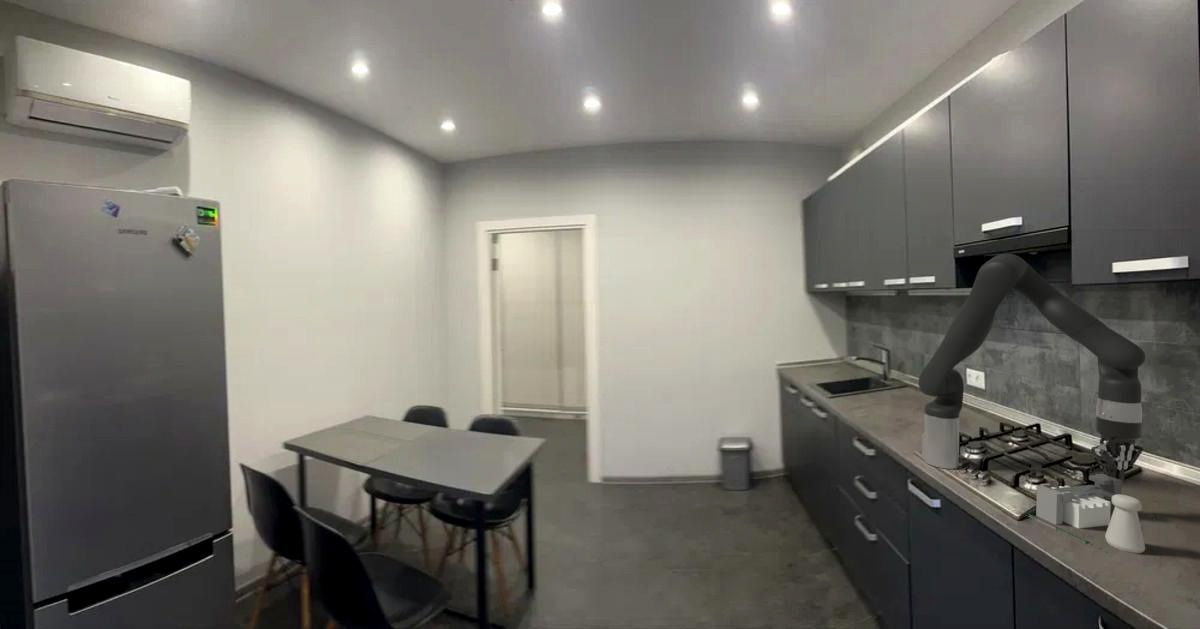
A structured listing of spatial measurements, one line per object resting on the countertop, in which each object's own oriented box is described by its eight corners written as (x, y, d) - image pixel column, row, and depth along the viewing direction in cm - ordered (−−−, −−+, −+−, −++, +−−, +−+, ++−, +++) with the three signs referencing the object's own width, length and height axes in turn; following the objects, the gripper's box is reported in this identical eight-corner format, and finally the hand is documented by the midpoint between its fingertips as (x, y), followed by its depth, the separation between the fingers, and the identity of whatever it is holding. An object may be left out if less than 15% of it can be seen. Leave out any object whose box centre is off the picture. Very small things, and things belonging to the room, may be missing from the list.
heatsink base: (1012, 509, 116) (1012, 475, 115) (1077, 501, 118) (1078, 469, 118) (1084, 543, 100) (1086, 505, 99) (1158, 534, 102) (1160, 496, 102)
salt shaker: (1135, 562, 93) (1137, 505, 92) (1098, 547, 98) (1100, 493, 98) (1151, 556, 95) (1153, 500, 94) (1114, 542, 100) (1115, 489, 99)
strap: (1046, 492, 109) (1046, 487, 109) (1088, 488, 111) (1088, 483, 111) (1060, 498, 106) (1061, 493, 106) (1104, 494, 107) (1104, 488, 107)
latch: (1085, 510, 111) (1086, 475, 111) (1100, 508, 112) (1101, 473, 111) (1105, 518, 107) (1106, 481, 107) (1120, 516, 108) (1121, 480, 107)
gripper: (1116, 423, 104) (1113, 491, 105) (1160, 419, 106) (1157, 486, 107) (1078, 414, 112) (1076, 477, 113) (1120, 410, 113) (1118, 473, 114)
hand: (1116, 481), depth 110 cm, fingers closed
